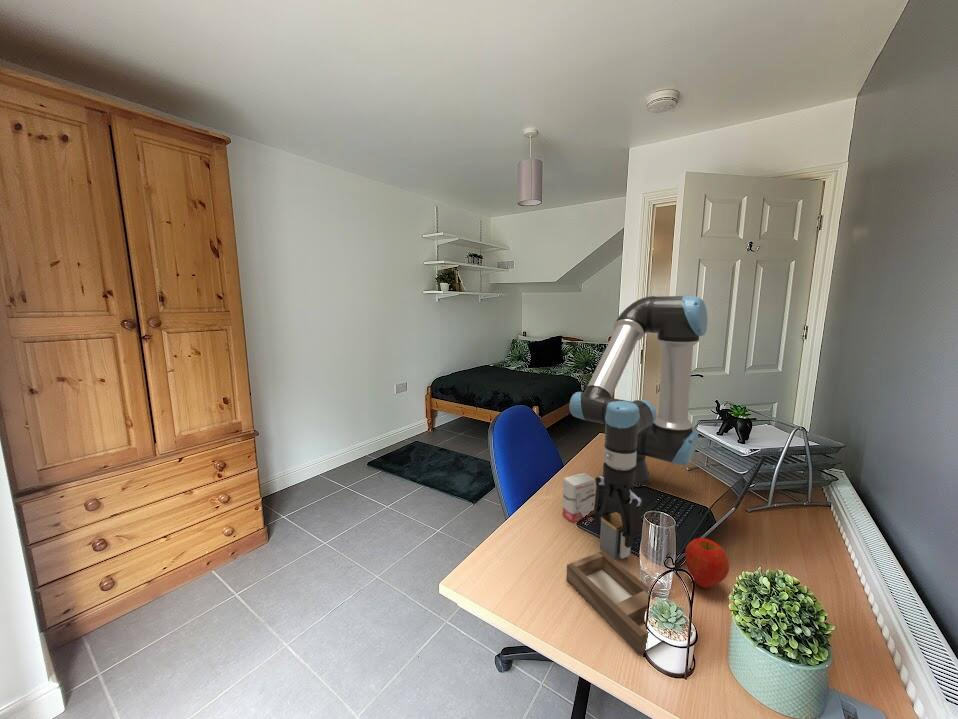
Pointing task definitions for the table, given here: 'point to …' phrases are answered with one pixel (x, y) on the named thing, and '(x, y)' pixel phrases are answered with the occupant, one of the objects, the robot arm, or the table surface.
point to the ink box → (578, 496)
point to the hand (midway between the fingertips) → (614, 548)
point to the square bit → (611, 534)
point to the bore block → (613, 595)
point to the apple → (706, 562)
